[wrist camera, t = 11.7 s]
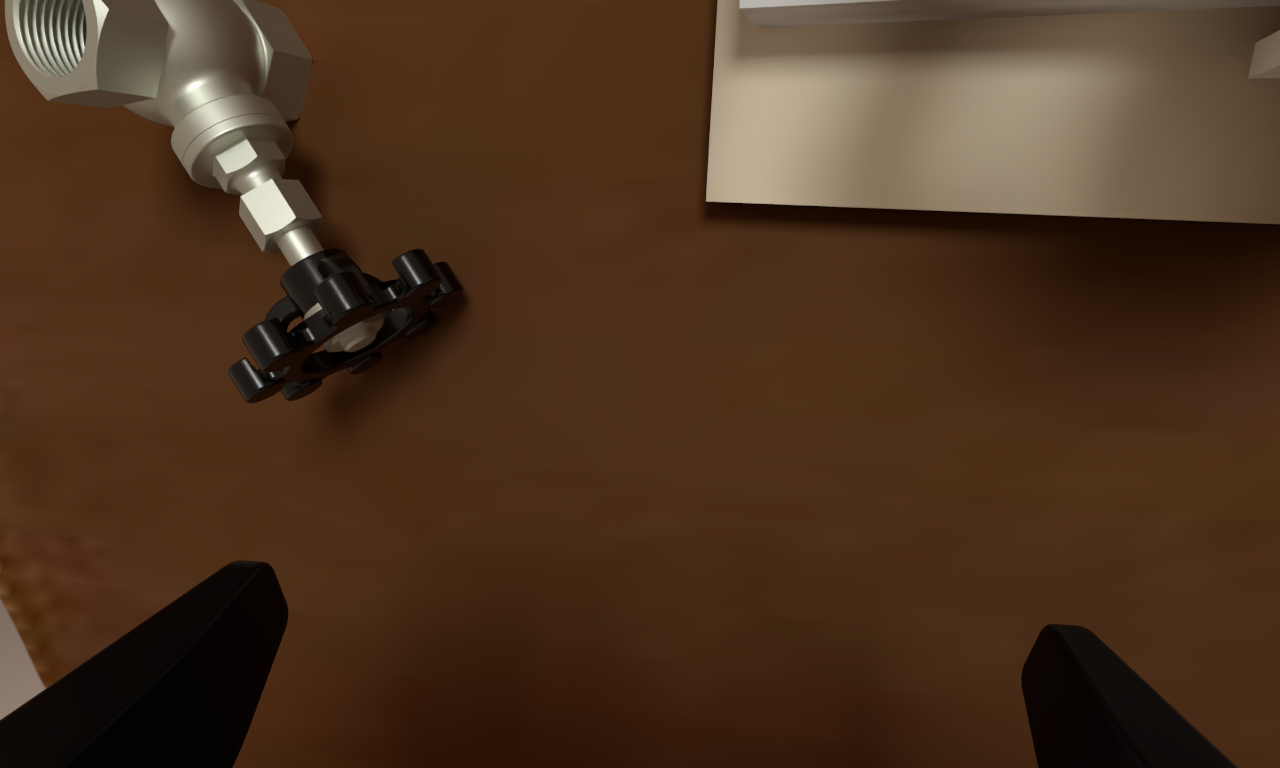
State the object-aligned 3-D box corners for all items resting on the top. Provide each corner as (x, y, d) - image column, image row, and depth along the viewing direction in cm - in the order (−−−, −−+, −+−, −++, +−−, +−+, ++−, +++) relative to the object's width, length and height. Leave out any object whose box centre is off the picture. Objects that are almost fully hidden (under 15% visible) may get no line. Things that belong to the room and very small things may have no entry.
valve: (184, 83, 25) (370, 378, 25) (-48, 43, 19) (195, 430, 19) (294, -60, 23) (504, 270, 22) (65, -158, 17) (349, 291, 16)
